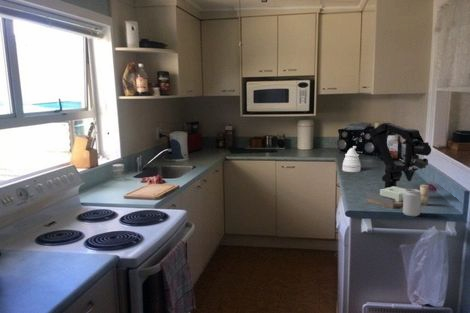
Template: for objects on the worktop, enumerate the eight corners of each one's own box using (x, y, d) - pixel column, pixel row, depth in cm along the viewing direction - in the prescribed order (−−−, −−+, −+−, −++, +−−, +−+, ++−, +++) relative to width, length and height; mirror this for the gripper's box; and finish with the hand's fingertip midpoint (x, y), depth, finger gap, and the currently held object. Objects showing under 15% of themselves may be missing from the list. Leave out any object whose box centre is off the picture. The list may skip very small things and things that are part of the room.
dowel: (422, 203, 195) (423, 184, 194) (429, 204, 192) (430, 185, 190) (417, 204, 193) (418, 185, 192) (424, 206, 190) (425, 186, 188)
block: (393, 193, 209) (393, 186, 208) (412, 197, 199) (412, 190, 199) (379, 196, 203) (379, 189, 202) (398, 201, 193) (399, 194, 193)
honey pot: (358, 168, 286) (358, 145, 283) (362, 171, 273) (362, 147, 270) (341, 168, 287) (341, 145, 284) (344, 172, 275) (344, 147, 272)
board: (390, 195, 211) (390, 187, 211) (416, 201, 198) (417, 193, 197) (366, 201, 201) (366, 192, 200) (392, 208, 188) (392, 199, 187)
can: (415, 211, 182) (416, 187, 180) (423, 216, 174) (424, 191, 172) (399, 212, 181) (400, 188, 179) (407, 217, 174) (408, 192, 172)
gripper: (414, 156, 192) (412, 186, 194) (435, 153, 201) (433, 181, 204) (394, 154, 201) (393, 182, 204) (416, 150, 210) (414, 177, 213)
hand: (409, 181), depth 206 cm, fingers closed
